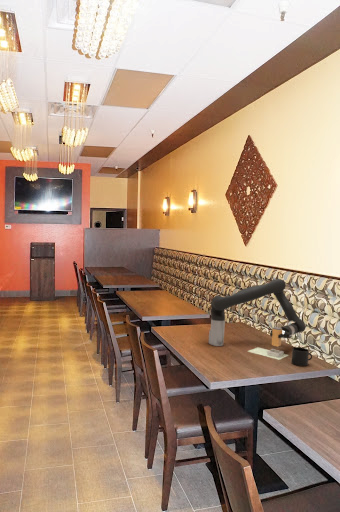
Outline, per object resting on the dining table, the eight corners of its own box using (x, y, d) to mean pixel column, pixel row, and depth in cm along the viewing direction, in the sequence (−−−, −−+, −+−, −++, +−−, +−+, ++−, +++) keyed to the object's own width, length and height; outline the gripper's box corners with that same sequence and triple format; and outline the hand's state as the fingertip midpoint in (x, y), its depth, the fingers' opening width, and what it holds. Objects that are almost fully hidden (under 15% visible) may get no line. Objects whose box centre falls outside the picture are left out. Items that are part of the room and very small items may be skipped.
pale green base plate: (247, 353, 270) (247, 347, 270) (257, 349, 281) (258, 343, 280) (278, 362, 256) (279, 355, 256) (288, 357, 267) (289, 351, 266)
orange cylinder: (271, 345, 264) (272, 327, 264) (274, 343, 268) (275, 326, 267) (278, 346, 262) (279, 329, 261) (280, 345, 265) (282, 328, 264)
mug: (314, 367, 250) (315, 352, 250) (294, 366, 250) (295, 351, 249) (308, 361, 260) (309, 347, 259) (289, 361, 259) (290, 346, 259)
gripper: (277, 323, 279) (264, 327, 266) (297, 327, 270) (286, 332, 257) (276, 334, 280) (264, 339, 267) (296, 339, 271) (285, 344, 258)
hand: (275, 335), depth 262 cm, fingers closed on orange cylinder, 4 cm apart
